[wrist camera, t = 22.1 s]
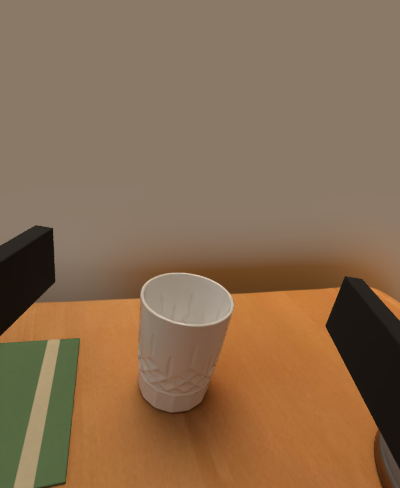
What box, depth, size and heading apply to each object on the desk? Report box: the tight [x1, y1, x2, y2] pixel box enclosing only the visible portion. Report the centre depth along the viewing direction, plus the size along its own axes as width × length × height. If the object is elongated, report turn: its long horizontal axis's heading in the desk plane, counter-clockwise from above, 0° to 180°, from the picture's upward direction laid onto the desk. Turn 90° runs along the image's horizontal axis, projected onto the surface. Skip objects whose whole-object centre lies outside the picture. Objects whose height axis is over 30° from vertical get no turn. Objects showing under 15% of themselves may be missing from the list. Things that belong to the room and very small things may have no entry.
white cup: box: [138, 273, 234, 413], centre depth 27 cm, size 8×8×10 cm
